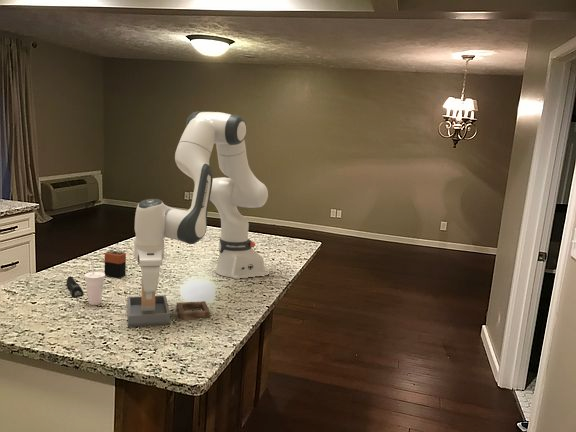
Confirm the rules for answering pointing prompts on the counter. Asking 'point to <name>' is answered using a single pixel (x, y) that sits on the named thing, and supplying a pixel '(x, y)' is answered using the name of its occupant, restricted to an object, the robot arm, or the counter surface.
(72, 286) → the electric trimmer
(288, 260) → the counter surface
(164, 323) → the tray
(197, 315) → the frame
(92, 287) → the smoothie
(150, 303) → the block
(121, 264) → the battery
